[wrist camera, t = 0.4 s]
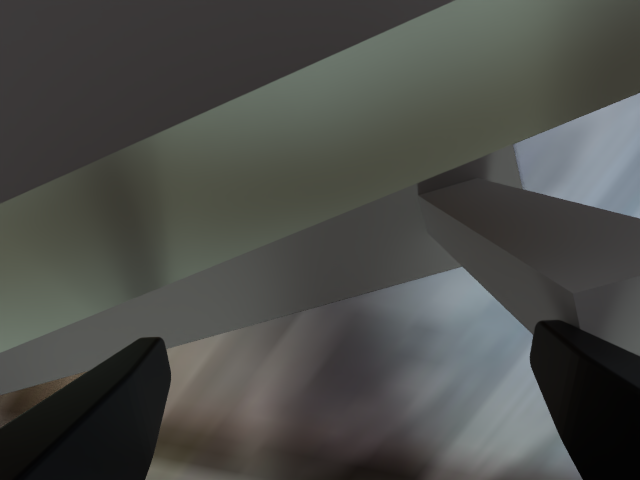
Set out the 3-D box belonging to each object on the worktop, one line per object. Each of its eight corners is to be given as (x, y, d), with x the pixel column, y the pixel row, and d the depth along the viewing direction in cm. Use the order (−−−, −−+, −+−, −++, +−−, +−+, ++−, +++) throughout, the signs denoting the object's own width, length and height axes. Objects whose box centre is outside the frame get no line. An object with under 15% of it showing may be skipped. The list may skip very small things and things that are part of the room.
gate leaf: (456, 119, 21) (673, 79, 8) (21, 301, 24) (-393, 512, 10) (437, 65, 21) (633, -80, 7) (-4, 256, 24) (-474, 415, 10)
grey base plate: (528, 242, 24) (888, 429, 8) (-17, 395, 27) (-503, 746, 11) (435, -182, 20) (779, -1270, 5) (-189, 47, 23) (-1287, -153, 7)
